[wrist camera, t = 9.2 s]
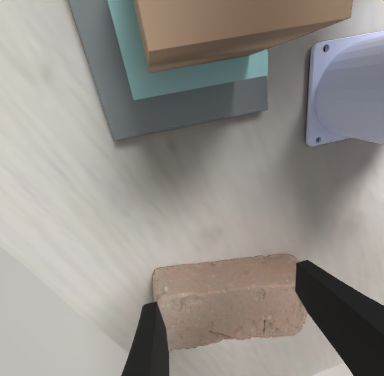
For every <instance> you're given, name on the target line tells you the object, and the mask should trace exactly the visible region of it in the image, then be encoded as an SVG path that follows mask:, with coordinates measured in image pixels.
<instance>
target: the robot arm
mask: <svg viewBox="0 0 384 376" xmlns="http://www.w3.org/2000/svg"><path fill="white" fill-rule="evenodd" d="M324 46H325V48H326V49H325V51H323V47H324ZM317 138H318V140H317V141H316V139H317ZM348 138H355V139H360V140H364V141H369V142H373V143H378V144H382V145H384V31H378V32H373V33H367V34H361V35H356V36H350V37H344V38H339V39H333V40H327V41H322V42H318V43H315V44H314V45H313V46H312V48H311V58H310V76H309V94H308V112H307V130H306V144H307V145H308V146H317V145H321V144H326V143H330V142H335V141H339V140H344V139H348ZM295 292H296V294H297V295H298V297H299V299H300V301H301V302H302V304H303V306H304V307H305V309H306V311H307V312H308V313H309V315H310V316H311V318H312V319H313V320H314V322H315V323H316V324H317V326H318V327H319V328H320V330H321V331H322V332H323V334H324V335H325V336H326V338H327V339H328V341H329V342H330V343H331V345H332V346H333V347H334V349H335V350H336V351H337V353H338V354H339V355H340V357H341V358H342V359H343V361H344V362H345V364H346V365H347V366H348V368H349V369H350V371H351V372H352V374H353V376H384V306H383V305H381V304H380V303H378V302H376V301H374V300H372V299H370V298H369V297H367V296H365V295H363V294H362V293H360V292H358V291H357V290H355V289H353V288H352V287H350V286H348V285H347V284H345V283H343V282H342V281H340V280H338V279H337V278H335V277H334V276H332V275H331V274H329V273H327V272H326V271H324V270H323V269H321V268H320V267H318V266H316V265H315V264H313V263H312V262H310V261H308V260H305V261H302V262H298V263H296V281H295ZM121 376H169V350H168V341H167V332H166V327H165V324H164V321H163V318H162V315H161V312H160V309H159V306H158V303H157V301H156V302H152V303H149V304H145V305H144V306H143V307H142V311H141V316H140V320H139V323H138V327H137V331H136V334H135V337H134V341H133V344H132V347H131V350H130V353H129V356H128V359H127V362H126V365H125V367H124V370H123V372H122V375H121Z"/></svg>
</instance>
